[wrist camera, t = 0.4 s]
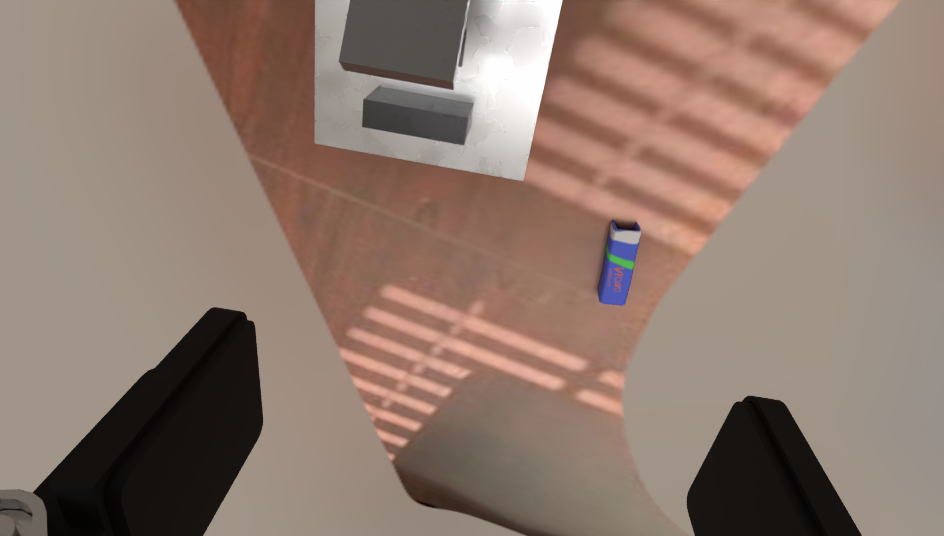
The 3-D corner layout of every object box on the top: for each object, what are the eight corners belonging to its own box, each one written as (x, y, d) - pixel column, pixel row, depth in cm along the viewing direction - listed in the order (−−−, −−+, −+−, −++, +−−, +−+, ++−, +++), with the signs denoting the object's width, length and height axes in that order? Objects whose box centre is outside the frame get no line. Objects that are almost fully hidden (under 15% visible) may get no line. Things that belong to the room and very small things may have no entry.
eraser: (638, 220, 38) (643, 233, 36) (621, 291, 41) (625, 306, 39) (610, 217, 38) (614, 230, 36) (595, 288, 41) (598, 303, 39)
